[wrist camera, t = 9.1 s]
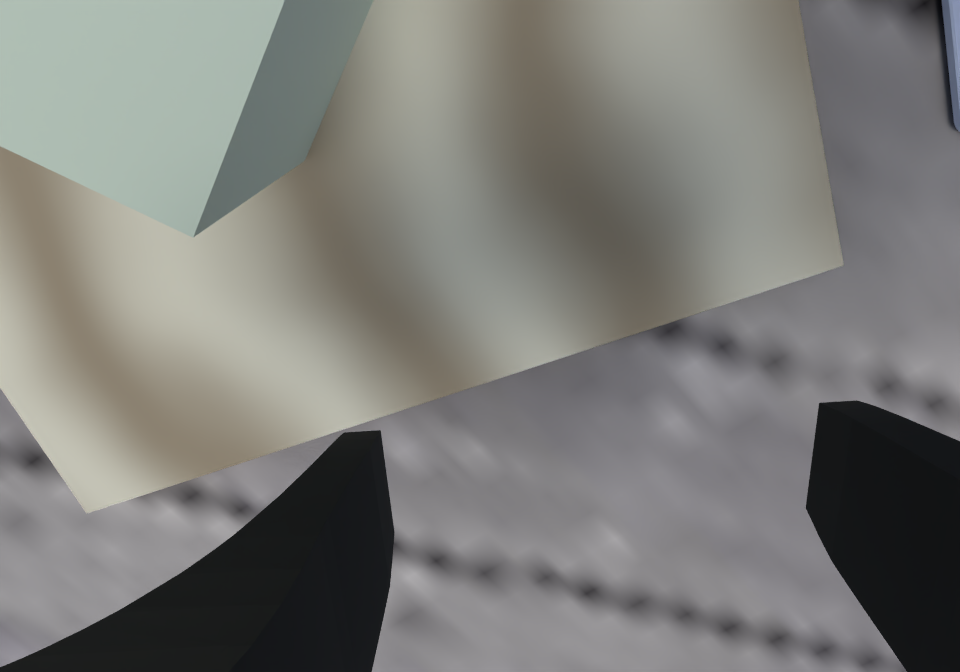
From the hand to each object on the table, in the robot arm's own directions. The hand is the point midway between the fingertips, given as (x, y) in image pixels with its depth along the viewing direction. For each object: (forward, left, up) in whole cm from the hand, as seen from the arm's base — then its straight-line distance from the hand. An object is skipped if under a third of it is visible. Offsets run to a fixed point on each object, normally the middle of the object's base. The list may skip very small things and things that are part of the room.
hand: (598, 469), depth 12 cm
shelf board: (+4, -7, -10) cm, 13 cm away
